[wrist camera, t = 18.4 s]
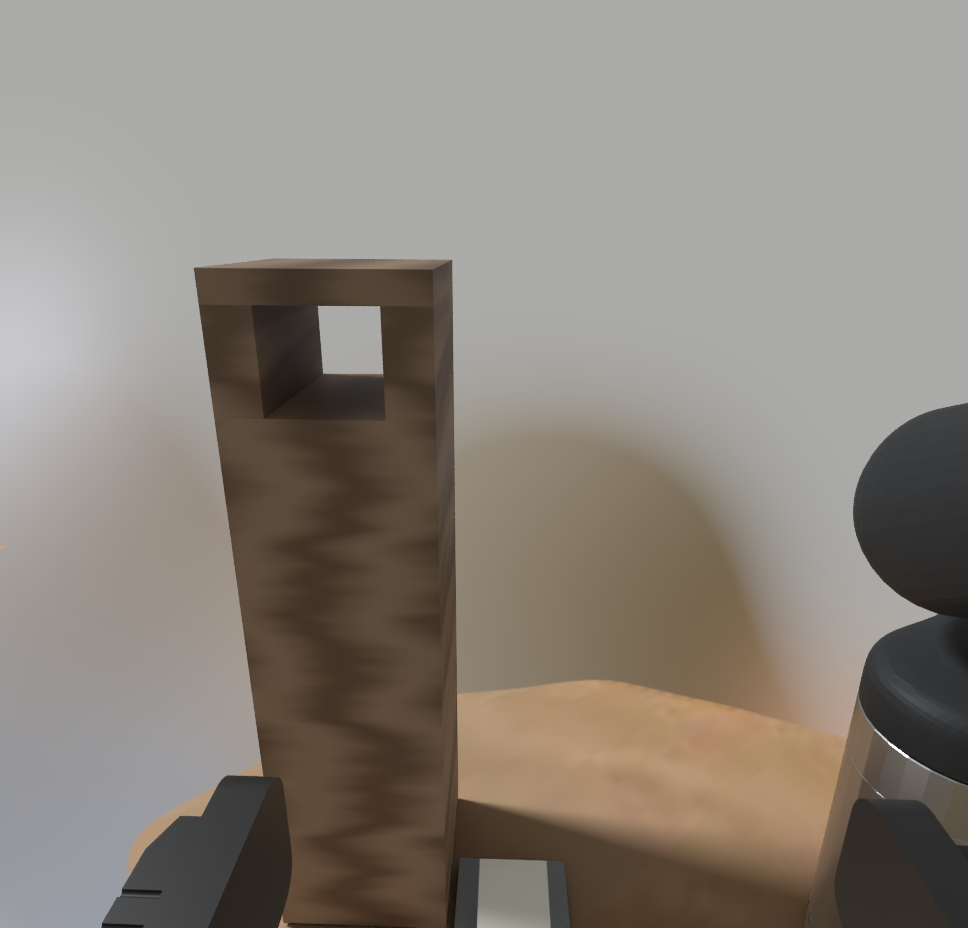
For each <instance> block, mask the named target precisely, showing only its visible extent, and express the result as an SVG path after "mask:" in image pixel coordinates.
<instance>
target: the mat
mask: <svg viewBox="0 0 968 928" xmlns="http://www.w3.org/2000/svg"><path fill="white" fill-rule="evenodd" d="M480 859H484V858H460V859H459V872H458V885H457V898H456V911H455V924H454V928H477V915H478V891H479V868H480ZM507 860H514V859H507ZM538 861H543V860H538ZM547 877H548V893H549V908H550V924H551V928H570V919H569V908H568V897H567V886H566V874H565V863H564V861H547Z"/></svg>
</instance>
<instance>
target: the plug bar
mask: <svg viewBox="0 0 968 928" xmlns="http://www.w3.org/2000/svg"><path fill="white" fill-rule="evenodd" d="M477 928H551V924H550V908H549V893H548V877H547V861H538V860H507V859H480V868H479V891H478V915H477Z"/></svg>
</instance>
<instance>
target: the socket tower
mask: <svg viewBox="0 0 968 928" xmlns="http://www.w3.org/2000/svg"><path fill="white" fill-rule="evenodd" d="M194 272H195V280H196V287H197V295H198V302H199V309H200V316H201V323H202V331H203V338H204V346H205V353H206V360H207V368H208V375H209V382H210V389H211V397H212V404H213V411H214V419H215V426H216V433H217V441H218V447H219V455H220V461H221V469H222V476H223V484H224V492H225V499H226V506H227V513H228V521H229V528H230V535H231V542H232V550H233V557H234V565H235V572H236V579H237V586H238V593H239V601H240V608H241V616H242V622H243V630H244V637H245V645H246V652H247V659H248V667H249V674H250V681H251V688H252V695H253V702H254V710H255V718H256V725H257V732H258V739H259V747H260V754H261V762H262V769H263V776H264V777H279V778H281V780H282V783H283V787H284V794H285V802H286V810H287V818H288V826H289V834H290V842H291V850H292V873H291V881H290V887H289V892H288V897H287V901H286V905H285V908H284V911H283V914H282V915H283V922H284V923H306V924H333V925H360V926H387V927H414V928H446V927H447V916H448V904H449V893H450V882H451V870H452V859H453V847H454V836H455V825H456V813H457V802H458V746H457V664H456V663H457V659H456V574H455V573H456V570H455V569H456V567H455V482H454V481H455V480H454V479H455V478H454V393H453V392H454V391H453V390H454V389H453V304H452V303H453V300H452V260H397V259H396V260H394V259H393V260H391V259H388V260H387V259H268V260H259V261H251V262H241V263H233V264H224V265H215V266H206V267H197V268H194ZM318 306H380V310H381V332H382V353H383V375H382V374H379V375H378V374H323V368H322V356H321V343H320V331H319V317H318Z"/></svg>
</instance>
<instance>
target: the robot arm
mask: <svg viewBox="0 0 968 928" xmlns="http://www.w3.org/2000/svg"><path fill="white" fill-rule="evenodd" d="M853 519H854V527H855V532H856V536H857V538H858V541H859V543H860V546H861V549H862V551H863V553H864V555H865V557H866V558H867V560H868V562H869V563H870V565H871V567H872V568H873V569H874V570H875V572H876V573H877V574H878V575H879V577H880V578H881V579H882V580H883V581H884V582H885V583H886V584H887V585H889V587H891V588H892V589H893V590H894V591H895V592H896V593H898V594H899V595H900V596H902V597H904V598H905V599H907V600H909V601H910V602H912V603H913V604H915V605H917V606H919V607H922V608H925V609H927V610H930V611H932V612H935V613H937V614H938V615H936V616H934V617H931V618H928V619H925V620H923V621H920V622H917V623H915V624H911V625H908V626H905V627H903V628H900V629H897V630H895V631H893V632H891V633H889V634H887V635H885V636H884V637H882V638H881V639H880V640H879V641H878V642H877V643H876V644H875V645H874V646H873V647H872V649H871V651H870V652H869V654H868V657H867V659H866V662H865V665H864V669H863V673H862V677H861V682H860V686H859V691H858V695H857V699H856V703H855V707H854V712H853V716H852V720H851V724H850V729H849V733H848V738H847V742H846V746H845V751H844V755H843V759H842V763H841V768H840V772H839V776H838V780H837V785H836V789H835V793H834V797H833V802H832V806H831V810H830V814H829V819H828V823H827V827H826V831H825V836H824V840H823V844H822V848H821V853H820V857H819V861H818V865H817V869H816V873H815V878H814V882H813V887H812V891H811V895H810V899H809V901H808V905H807V907H808V908H807V912H806V917H805V923H804V928H968V403H966V404H961V405H955V406H950V407H946V408H941V409H937V410H933V411H930V412H927V413H924V414H922V415H919V416H917V417H915V418H913V419H911V420H909V421H908V422H906V423H905V424H903V425H901V426H900V427H899V428H898V429H896V430H895V431H894V432H892V433H891V434H890V435H889V436H888V437H887V438H886V439H885V440H884V441H883V442H882V443H881V444H880V445H879V446H878V448H877V449H876V450H875V452H874V453H873V454H872V456H871V458H870V459H869V461H868V463H867V464H866V466H865V468H864V469H863V472H862V474H861V476H860V479H859V482H858V485H857V488H856V492H855V497H854V506H853ZM291 873H292V850H291V842H290V834H289V826H288V818H287V810H286V802H285V794H284V787H283V783H282V780H281V778H279V777H259V776H226V777H224V778H223V779H222V780H221V782H220V783H219V785H218V786H217V788H216V790H215V792H214V794H213V796H212V797H211V799H210V801H209V803H208V805H207V807H206V809H205V811H204V813H203V815H202V816H201V817H197V816H180V817H179V818H178V819H176V820H175V821H174V822H173V823H172V824H171V825H170V826H169V827H168V828H167V829H166V830H165V831H164V832H163V833H162V834H161V835H160V836H159V837H158V838H157V839H156V840H154V841H153V842H152V843H151V844H150V845H149V846H148V847H147V848H146V849H145V851H144V853H143V854H142V856H141V858H140V859H139V861H138V863H137V864H136V866H135V868H134V870H133V871H132V873H131V875H130V876H129V878H128V880H127V881H126V883H125V885H124V887H123V888H122V894H121V896H120V897H117V898H116V900H115V902H114V904H113V905H112V907H111V909H110V910H109V912H108V914H107V915H106V917H105V919H104V921H103V922H102V928H278V926H279V923H280V920H281V917H282V914H283V911H284V908H285V905H286V901H287V897H288V892H289V887H290V881H291Z"/></svg>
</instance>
